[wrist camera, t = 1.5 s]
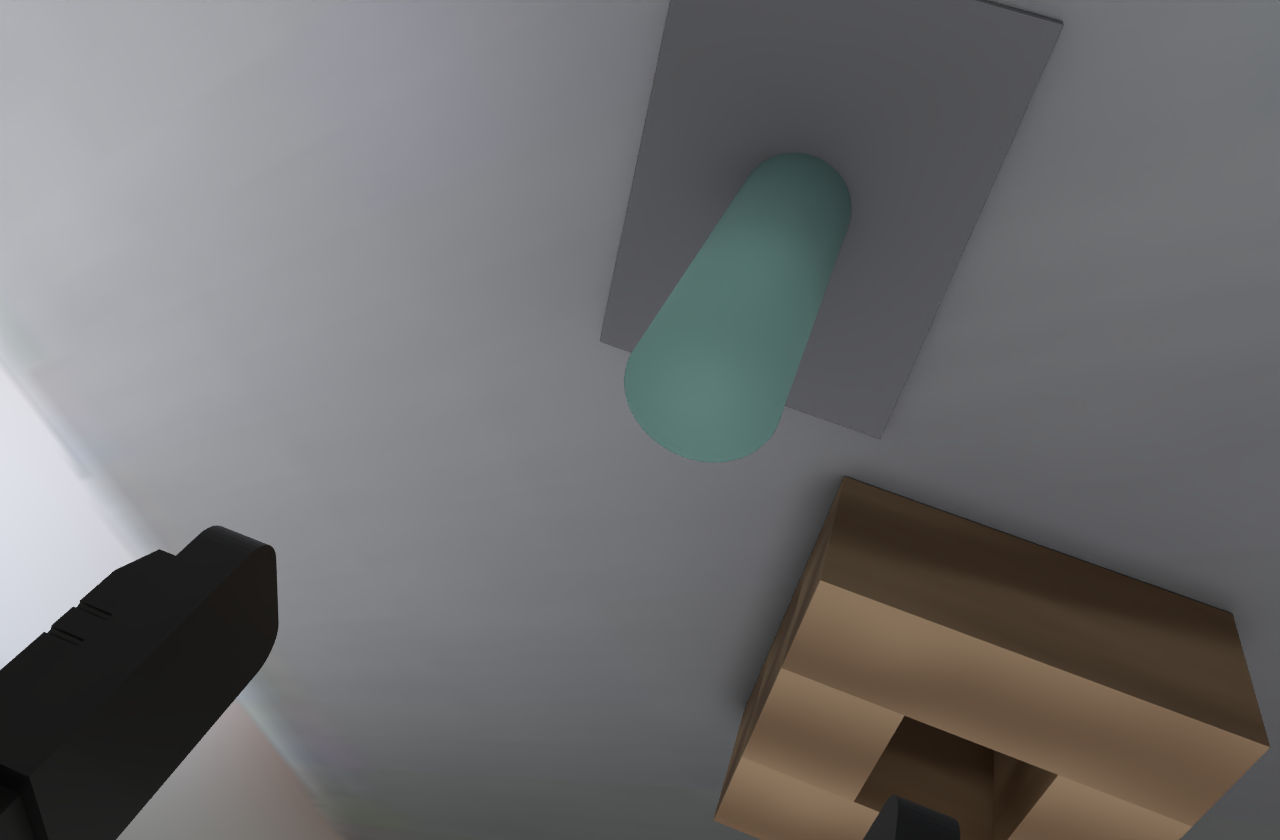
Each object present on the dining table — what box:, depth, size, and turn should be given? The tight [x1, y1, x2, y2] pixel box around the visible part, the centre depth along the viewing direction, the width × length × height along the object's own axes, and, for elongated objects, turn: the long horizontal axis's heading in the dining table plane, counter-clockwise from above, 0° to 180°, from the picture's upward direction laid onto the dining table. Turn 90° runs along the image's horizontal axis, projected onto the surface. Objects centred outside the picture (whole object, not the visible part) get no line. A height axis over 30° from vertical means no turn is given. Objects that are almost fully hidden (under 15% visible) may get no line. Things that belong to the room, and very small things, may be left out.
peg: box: [624, 153, 852, 462], centre depth 22 cm, size 3×3×10 cm
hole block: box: [714, 476, 1270, 840], centre depth 31 cm, size 12×12×5 cm
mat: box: [600, 0, 1063, 439], centre depth 26 cm, size 12×9×1 cm
